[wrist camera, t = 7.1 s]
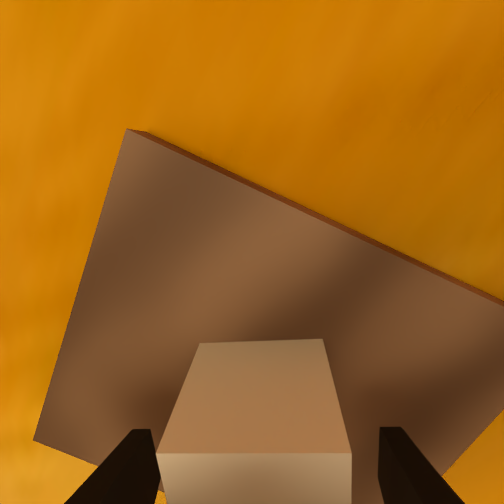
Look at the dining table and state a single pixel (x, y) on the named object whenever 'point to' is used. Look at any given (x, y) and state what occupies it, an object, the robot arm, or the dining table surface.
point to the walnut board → (263, 315)
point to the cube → (257, 428)
